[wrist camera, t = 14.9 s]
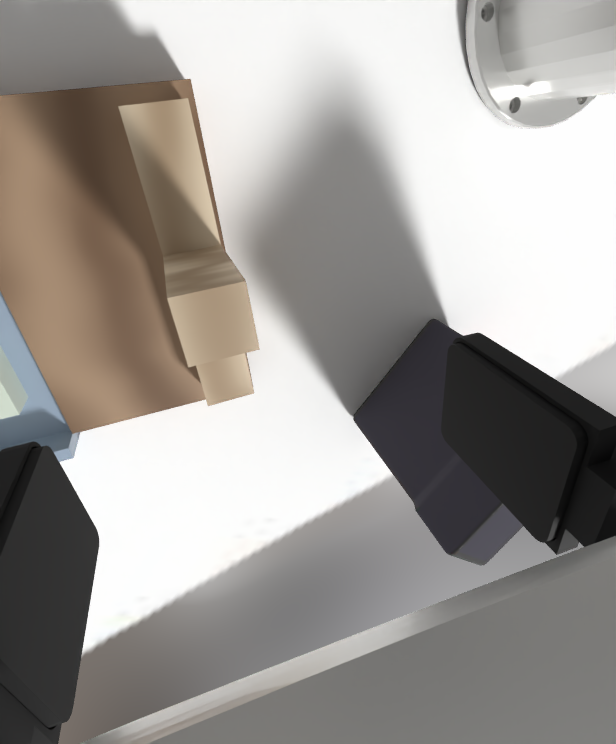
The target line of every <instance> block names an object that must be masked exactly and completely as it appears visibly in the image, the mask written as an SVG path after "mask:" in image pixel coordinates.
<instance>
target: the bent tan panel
mask: <svg viewBox="0 0 616 744" xmlns="http://www.w3.org/2000/svg"><path fill="white" fill-rule="evenodd" d="M118 107H119V111H120V114H121V117H122V121H123V124H124V127H125V131H126V134H127V137H128V141H129V144H130V147H131V151H132V154H133V157H134V161H135V164H136V167H137V171H138V174H139V177H140V181H141V184H142V187H143V191H144V194H145V197H146V201H147V204H148V207H149V211H150V214H151V217H152V221H153V224H154V227H155V231H156V234H157V237H158V241H159V244H160V247H161V251H162V254H163V260H164V271H165V282H166V293H167V300H168V303H169V306H170V309H171V313H172V316H173V319H174V322H175V326H176V329H177V332H178V335H179V338H180V342H181V345H182V348H183V351H184V354H185V358H186V361H187V364H188V367H192V366H196V368H197V371H198V374H199V378H200V381H201V384H202V388H203V391H204V394H205V398H206V401H207V404H208V406H210V405H214V404H217V403H221V402H224V401H228V400H232V399H235V398H239V397H242V396H246V395H250V394H253V393H254V390H253V386H252V381H251V377H250V372H249V368H248V363H247V359H246V354H245V353H247V352H251V351H255V350H259V344H258V339H257V334H256V329H255V324H254V319H253V314H252V309H251V304H250V299H249V295H248V290H247V285H246V281H245V279H244V278H243V276H242V275H241V273H240V272H239V270H238V269H237V268H236V266H235V265H234V263H233V262H232V260H231V259H230V257H229V256H228V254H227V253H226V252H225V250H224V249H223V247H222V246H221V243H220V239H219V234H218V230H217V225H216V221H215V216H214V212H213V207H212V203H211V198H210V194H209V190H208V185H207V181H206V176H205V172H204V167H203V163H202V158H201V154H200V149H199V145H198V140H197V136H196V132H195V127H194V123H193V118H192V114H191V109H190V105H189V100H188V98H185V99H176V100H168V101H159V102H151V103H142V104H134V105H125V106H118Z"/></svg>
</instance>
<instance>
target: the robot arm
mask: <svg viewBox="0 0 616 744" xmlns="http://www.w3.org/2000/svg"><path fill="white" fill-rule="evenodd" d="M466 50H467V56H468V62H469V68H470V72H471V75H472V78H473V81H474V84H475V87H476V90H477V92H478V93H479V95H480V97H481V99H482V100H483V102H484V104H485V105H486V107H487V108H488V109H489V110H490V111H491V112H492V113H493V114H494V115H495V116H496V117H497V118H499V119H500V120H502V121H503V122H505V123H506V124H508V125H511V126H515V127H518V128H543V127H550V126H553V125H556V124H558V123H561V122H564V121H566V120H568V119H569V118H571V117H572V116H574V115H575V114H577V113H578V112H580V111H581V110H582V109H583V108H584V107H586V106H587V105H588V104H589V103H590V102H591V101H592V100H593V99H594V98H595V97H596V96H597V95H605V94H613V93H616V0H468V4H467V14H466ZM441 432H442V436H443V438H444V440H445V441H446V442H447V444H448V445H449V446H450V447H451V448H452V449H453V450H454V451H455V452H456V453H457V454H458V456H459V457H460V458H461V459H462V460H463V461H464V462H465V463H466V464H467V465H468V466H469V467H470V469H471V470H472V471H473V472H474V473H475V474H476V475H477V476H478V477H479V478H480V479H481V480H482V482H483V483H484V484H485V485H486V486H487V487H488V488H489V489H490V490H491V491H492V492H493V493H494V495H495V496H496V497H497V498H498V499H499V500H500V501H501V502H502V503H503V504H504V505H505V506H506V508H507V509H508V510H509V511H510V512H511V513H512V514H513V515H514V516H515V517H516V518H517V519H518V521H519V522H520V523H521V524H522V525H523V526H524V527H525V528H526V529H527V530H528V531H529V532H530V533H531V535H532V536H533V537H534V538H535V539H537V540H538V541H540V542H545V543H546V544H547V545H548V546H549V547H550V548H551V549H552V550H553V551H554V552H555V554H556V555H557V554H560V553H563V552H565V551H568V550H570V549H573V548H576V547H577V546H578V543H579V542H580V543H581V544H582V545H583V546H584V547H583V548H580V549H578V550H575V551H572V552H570V553H567V554H565V555H562V556H559V557H557V558H554V559H551V560H549V561H546V562H543V563H541V564H538V565H536V566H533V567H530V568H528V569H525V570H522V571H520V572H517V573H514V574H512V575H509V576H507V577H504V578H501V579H499V580H496V581H493V582H491V583H488V584H485V585H483V586H480V587H478V588H475V589H472V590H470V591H467V592H464V593H462V594H459V595H457V596H454V597H452V598H449V599H446V600H444V601H441V602H438V603H436V604H433V605H431V606H428V607H426V608H423V609H420V610H418V611H415V612H413V613H410V614H408V615H405V616H402V617H399V618H397V619H394V620H392V621H389V622H387V623H384V624H382V625H379V626H376V627H374V628H371V629H368V630H366V631H363V632H361V633H358V634H355V635H353V636H350V637H348V638H345V639H343V640H340V641H337V642H335V643H332V644H330V645H327V646H325V647H322V648H320V649H317V650H314V651H312V652H309V653H306V654H304V655H301V656H299V657H296V658H294V659H291V660H288V661H286V662H284V663H281V664H278V665H276V666H273V667H271V668H268V669H266V670H263V671H260V672H258V673H255V674H253V675H251V676H248V677H245V678H243V679H240V680H237V681H235V682H232V683H230V684H227V685H225V686H222V687H220V688H217V689H214V690H212V691H209V692H207V693H204V694H202V695H199V696H197V697H194V698H191V699H189V700H186V701H184V702H181V703H179V704H176V705H174V706H171V707H169V708H166V709H163V710H161V711H158V712H156V713H153V714H151V715H148V716H146V717H143V718H140V719H138V720H136V721H133V722H131V723H128V724H126V725H123V726H121V727H119V728H116V729H114V730H111V731H109V732H107V733H104V734H102V735H99V736H97V737H94V738H92V739H89V740H87V741H85V742H82V743H80V744H616V417H615V416H613V415H612V414H610V413H608V412H607V411H605V410H604V409H602V408H600V407H599V406H597V405H596V404H594V403H592V402H591V401H589V400H587V399H586V398H584V397H583V396H581V395H579V394H578V393H576V392H575V391H573V390H571V389H570V388H568V387H566V386H565V385H563V384H562V383H560V382H559V381H557V380H555V379H554V378H552V377H550V376H549V375H547V374H546V373H544V372H542V371H541V370H539V369H538V368H536V367H534V366H533V365H531V364H530V363H528V362H526V361H525V360H523V359H521V358H520V357H518V356H517V355H515V354H513V353H512V352H510V351H509V350H507V349H505V348H504V347H502V346H500V345H499V344H497V343H496V342H494V341H492V340H491V339H489V338H488V337H486V336H484V335H483V334H481V333H474V334H470V335H466V336H462V337H457V338H456V339H455V340H454V341H453V344H452V345H450V346H449V348H448V353H447V365H446V376H445V388H444V399H443V410H442V422H441ZM98 549H99V536H98V532H97V529H96V527H95V526H94V524H93V522H92V520H91V518H90V517H89V515H88V513H87V511H86V509H85V508H84V506H83V504H82V502H81V500H80V499H79V497H78V495H77V493H76V492H75V490H74V488H73V486H72V484H71V483H70V481H69V479H68V477H67V475H66V474H65V472H64V470H63V468H62V467H61V465H60V463H59V461H58V459H57V458H56V456H55V454H54V452H53V451H52V449H51V448H50V447H49V446H42V447H41V445H40V444H39V443H37V442H34V441H33V442H29V443H25V444H21V445H16V446H12V447H8V448H5V449H2V450H1V451H0V744H58V741H59V735H60V730H61V724H62V723H64V722H67V721H68V720H69V718H70V716H71V713H72V709H73V704H74V698H75V692H76V685H77V679H78V673H79V667H80V661H81V655H82V648H83V642H84V636H85V630H86V624H87V617H88V611H89V605H90V599H91V592H92V586H93V580H94V574H95V568H96V561H97V555H98Z"/></svg>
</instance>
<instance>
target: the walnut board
mask: <svg viewBox="0 0 616 744" xmlns="http://www.w3.org/2000/svg"><path fill="white" fill-rule="evenodd" d="M185 98H188V100H189V105H190V109H191V114H192V118H193V123H194V127H195V132H196V136H197V140H198V145H199V149H200V154H201V158H202V163H203V167H204V172H205V176H206V181H207V185H208V190H209V194H210V198H211V203H212V207H213V212H214V216H215V221H216V225H217V230H218V234H219V239H220V243H221V246H222V247H223V249H224V250H225V246H224V241H223V236H222V231H221V227H220V222H219V217H218V212H217V207H216V202H215V197H214V192H213V187H212V182H211V177H210V172H209V168H208V163H207V158H206V153H205V148H204V143H203V138H202V133H201V128H200V123H199V118H198V113H197V109H196V104H195V99H194V94H193V89H192V84H191V79H184V80H173V81H161V82H150V83H138V84H127V85H115V86H104V87H92V88H81V89H70V90H58V91H47V92H35V93H24V94H12V95H1V96H0V291H1V293H2V295H3V297H4V299H5V301H6V303H7V305H8V307H9V309H10V311H11V313H12V315H13V317H14V319H15V321H16V323H17V325H18V327H19V329H20V331H21V333H22V335H23V337H24V339H25V341H26V343H27V345H28V347H29V349H30V351H31V353H32V355H33V357H34V359H35V361H36V363H37V365H38V367H39V369H40V371H41V373H42V375H43V377H44V379H45V381H46V382H47V384H48V386H49V388H50V390H51V392H52V394H53V396H54V398H55V400H56V402H57V404H58V406H59V408H60V410H61V412H62V414H63V416H64V418H65V420H66V422H67V424H68V426H69V428H70V430H71V432H72V434H74V433H78V432H82V431H86V430H89V429H93V428H97V427H101V426H105V425H109V424H113V423H116V422H120V421H124V420H128V419H132V418H136V417H140V416H143V415H147V414H151V413H155V412H159V411H163V410H166V409H170V408H174V407H178V406H182V405H186V404H190V403H193V402H197V401H201V400H205V399H206V398H205V394H204V391H203V388H202V384H201V381H200V378H199V374H198V371H197V368H196V366H192V367H188V364H187V361H186V358H185V354H184V351H183V348H182V345H181V342H180V338H179V335H178V332H177V329H176V326H175V322H174V319H173V316H172V313H171V309H170V306H169V303H168V300H167V293H166V282H165V271H164V260H163V254H162V251H161V247H160V244H159V241H158V237H157V234H156V231H155V227H154V224H153V221H152V217H151V214H150V211H149V207H148V204H147V201H146V197H145V194H144V191H143V187H142V184H141V181H140V177H139V174H138V171H137V167H136V164H135V161H134V157H133V154H132V151H131V147H130V144H129V141H128V137H127V134H126V131H125V127H124V124H123V121H122V117H121V114H120V111H119V107H118V106H125V105H134V104H142V103H151V102H159V101H168V100H176V99H185ZM225 252H226V251H225ZM245 354H246V353H245ZM246 359H247V354H246ZM247 363H248V359H247ZM248 368H249V364H248ZM249 372H250V369H249ZM250 377H251V374H250ZM251 381H252V379H251ZM252 386H253V384H252Z"/></svg>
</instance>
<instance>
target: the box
mask: <svg viewBox="0 0 616 744" xmlns="http://www.w3.org/2000/svg"><path fill="white" fill-rule="evenodd" d="M0 346H1V348H2V349H3V351H4V353H5V355H6V357H7V359H8V360H9V362H10V364H11V366H12V368H13V370H14V371H15V373H16V375H17V377H18V379H19V381H20V382H21V384H22V386H23V388H24V390H25V392H26V394H27V395H28V399H27V401H26V403H25V405H24V407H23V409H22V411H21V413H20V415H16V416H12V417H8V418H4V419H0V451H1V450H2V449H5V448H8V447H12V446H16V445H21V444H25V443H29V442H33V441H34V442H37V443H39V444H40V445H41V447H42V446H49V447H50V448H51V449H52V451H53V452H54V454H55V456H56V458H57V459H58V461H59V462H60V461H64V460H67V459H71V458H74V454H75V450H76V446H77V442H78V438H79V434H80V432H78V433H74V434H72V432H71V430H70V428H69V426H68V424H67V422H66V420H65V418H64V416H63V414H62V412H61V410H60V408H59V406H58V404H57V402H56V400H55V398H54V396H53V394H52V392H51V390H50V388H49V386H48V384H47V382H46V381H45V379H44V377H43V375H42V373H41V371H40V369H39V367H38V365H37V363H36V361H35V359H34V357H33V355H32V353H31V351H30V349H29V347H28V345H27V343H26V341H25V339H24V337H23V335H22V333H21V331H20V329H19V327H18V325H17V323H16V321H15V319H14V317H13V315H12V313H11V311H10V309H9V307H8V305H7V303H6V301H5V299H4V297H3V295H2V293H1V291H0Z"/></svg>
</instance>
